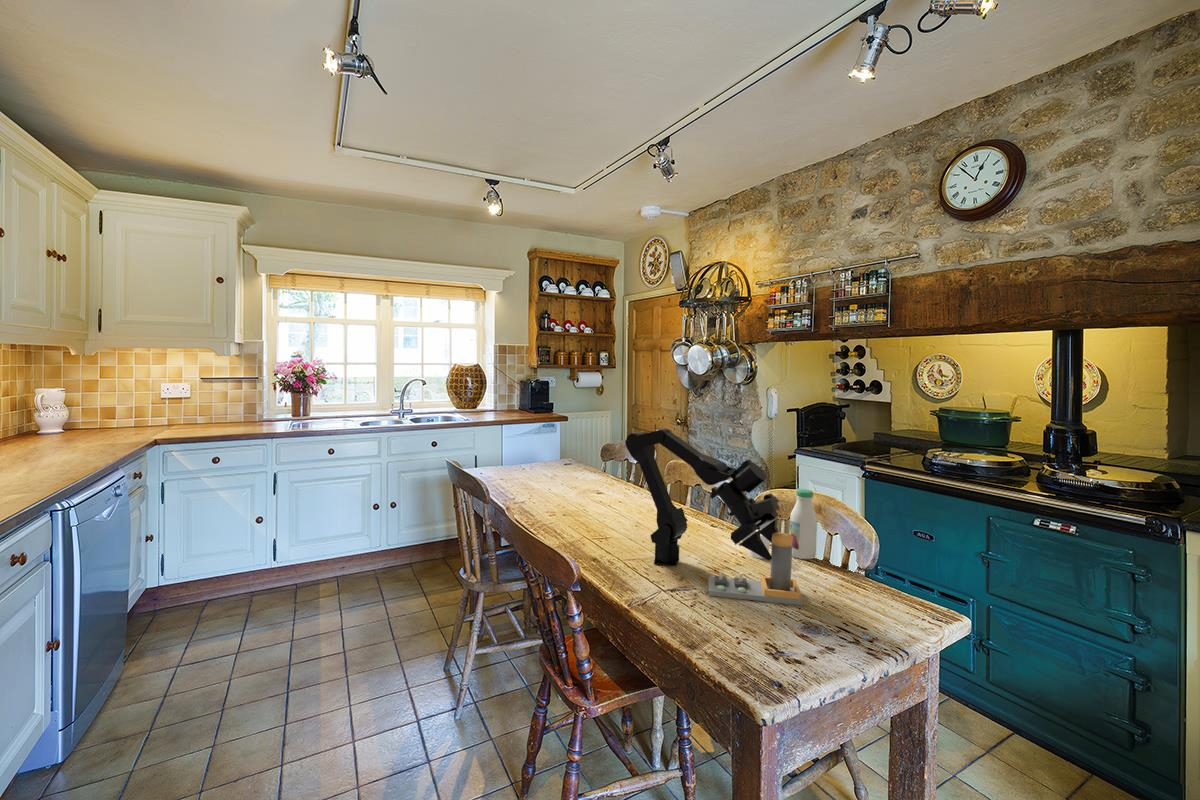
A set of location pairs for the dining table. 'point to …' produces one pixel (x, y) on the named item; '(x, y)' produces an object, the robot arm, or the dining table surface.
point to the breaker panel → (752, 589)
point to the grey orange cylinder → (781, 561)
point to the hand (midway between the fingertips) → (777, 554)
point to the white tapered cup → (766, 543)
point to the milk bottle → (803, 526)
